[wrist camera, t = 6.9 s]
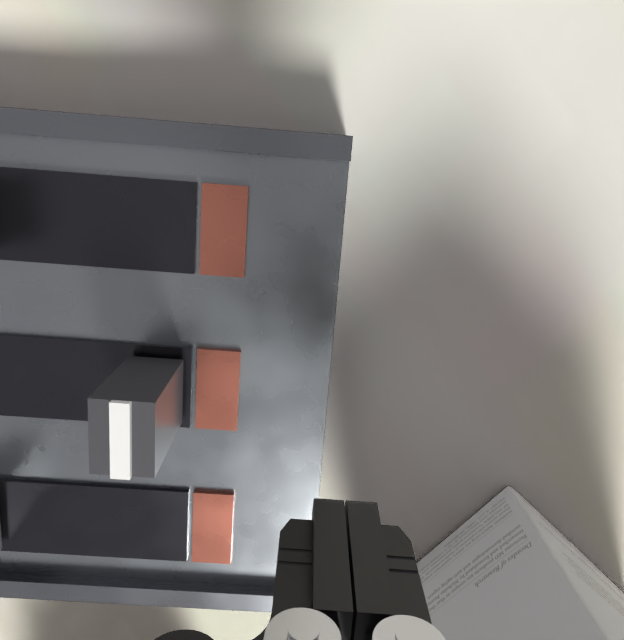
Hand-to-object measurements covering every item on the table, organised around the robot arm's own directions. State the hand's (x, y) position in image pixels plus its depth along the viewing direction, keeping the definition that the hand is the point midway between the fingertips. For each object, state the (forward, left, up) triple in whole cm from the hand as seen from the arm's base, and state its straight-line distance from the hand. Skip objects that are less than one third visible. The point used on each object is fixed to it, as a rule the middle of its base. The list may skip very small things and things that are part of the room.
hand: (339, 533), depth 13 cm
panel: (+10, 0, -11) cm, 14 cm away
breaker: (+6, 0, -8) cm, 10 cm away
